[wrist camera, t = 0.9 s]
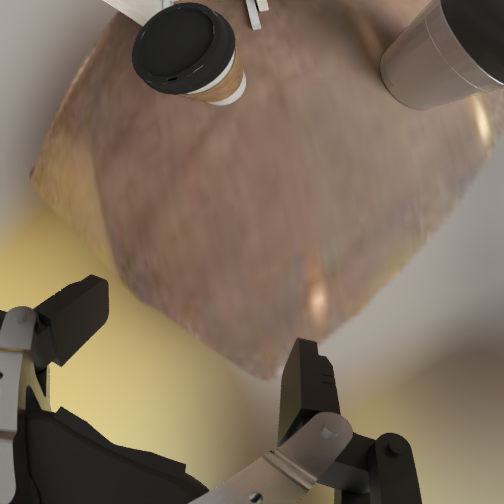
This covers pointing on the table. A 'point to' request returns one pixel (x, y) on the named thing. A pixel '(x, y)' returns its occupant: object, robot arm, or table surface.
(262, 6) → the white rectangular frame
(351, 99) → the table surface
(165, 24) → the coffee cup
